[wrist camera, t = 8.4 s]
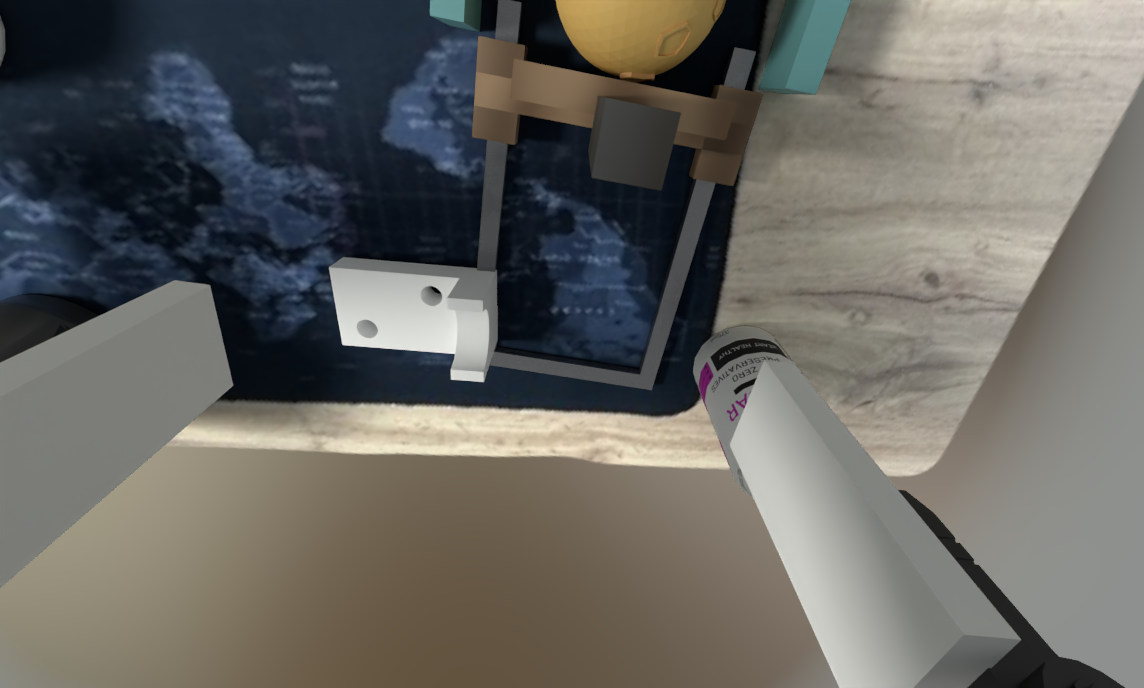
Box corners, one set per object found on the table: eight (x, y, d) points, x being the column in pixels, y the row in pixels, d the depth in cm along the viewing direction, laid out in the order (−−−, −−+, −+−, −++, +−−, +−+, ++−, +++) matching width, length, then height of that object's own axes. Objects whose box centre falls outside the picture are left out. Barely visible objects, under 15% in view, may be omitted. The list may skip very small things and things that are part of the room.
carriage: (479, 134, 35) (398, 167, 19) (485, 39, 32) (397, -9, 16) (723, 180, 36) (830, 246, 21) (750, 93, 33) (898, 95, 18)
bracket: (498, 266, 40) (482, 300, 34) (498, 337, 44) (483, 381, 37) (348, 253, 40) (302, 285, 33) (359, 326, 43) (319, 369, 37)
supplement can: (741, 408, 47) (804, 533, 34) (674, 373, 45) (713, 491, 32) (797, 347, 43) (893, 459, 30) (727, 307, 41) (796, 407, 28)
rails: (471, 356, 44) (469, 361, 43) (500, 0, 31) (498, -3, 30) (650, 384, 45) (651, 390, 45) (751, 52, 32) (756, 51, 31)
